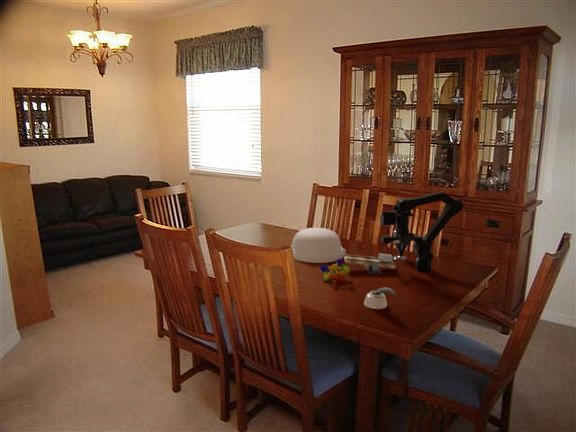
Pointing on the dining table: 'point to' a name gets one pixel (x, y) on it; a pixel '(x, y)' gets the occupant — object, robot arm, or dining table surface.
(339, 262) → the decorative model
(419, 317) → the dining table surface
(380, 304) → the inkwell
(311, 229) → the dome cover
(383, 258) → the steel block
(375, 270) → the pivot stand
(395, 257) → the wine glass
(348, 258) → the beam
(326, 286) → the dining table surface
